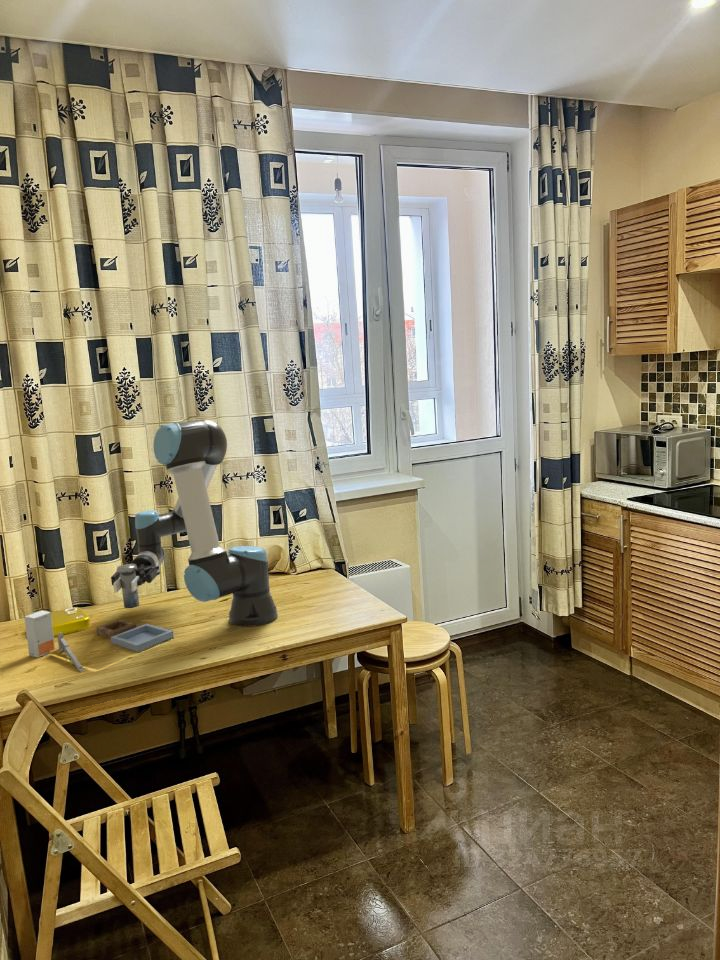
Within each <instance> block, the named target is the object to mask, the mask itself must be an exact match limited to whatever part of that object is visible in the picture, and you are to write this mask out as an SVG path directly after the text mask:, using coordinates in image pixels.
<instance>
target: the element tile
mask: <svg viewBox="0 0 720 960" xmlns="http://www.w3.org/2000/svg"><path fill="white" fill-rule="evenodd" d="M50 612H51V611H50ZM51 618H52V627H53V635H54V638H55V637H58V633H60V632H62V634H63V636H64V635H68V634H72V633H75V632H81V631H83V630H87V629H90V628H91V621H90V616H89V615H88V614H87V612H85V611H84V610H83V609H82V608H80V607H78V606H73V607H70V608H65V609H61V610H56V611H52V612H51Z"/></svg>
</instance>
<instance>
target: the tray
mask: <svg viewBox="0 0 720 960" xmlns="http://www.w3.org/2000/svg"><path fill="white" fill-rule="evenodd" d="M174 636H175V635H174V631H173V630H170V629H166V628H164V627H162V626H161V627H160V626H157V625H152V624H149V623H144V624H142V625H140V626H136V628H134V629H131V630H128V631H126V632H123V633H120V634H118V635H115V636H112V637H111V638H110V641H111V642H110V643H111V644H112V645H113V644H114V645H115V646H120V647H123V648H126V649H129V650H131V651H135V652H137V654H140V653H143V652H145V651H147V650H150V649H152V648H154V646H155V647H157V646H159V645H158V644H160V645H162V644H164V643H163V642H165V643H167V642H169V641H171V639H172V640H174V639H175V638H174ZM168 640H169V641H168ZM166 641H167V642H166ZM161 643H162V644H161ZM156 645H157V646H156ZM142 651H143V652H142Z"/></svg>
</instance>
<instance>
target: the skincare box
mask: <svg viewBox="0 0 720 960" xmlns="http://www.w3.org/2000/svg"><path fill="white" fill-rule="evenodd" d="M24 624H25V631H26V633H25V634H26V639H27V649H28V656H29V657H34V658H38V659H39V658H40V657H43V656H45V655H47V654H51V652H52V651H54V650H56V645H55V637H54V635H53V627H52V618H51V611H47V610H39V611H37V612H33V613H31V614H29V615H25V616H24Z"/></svg>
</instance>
